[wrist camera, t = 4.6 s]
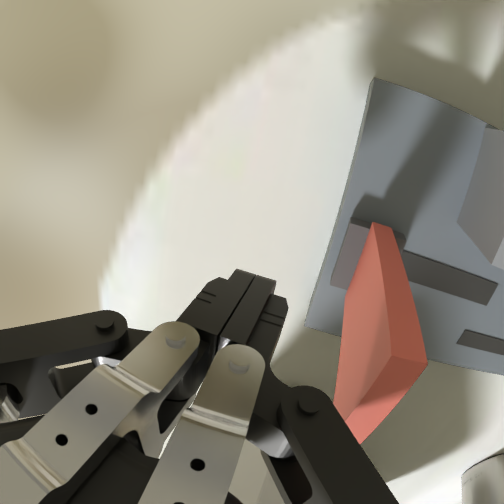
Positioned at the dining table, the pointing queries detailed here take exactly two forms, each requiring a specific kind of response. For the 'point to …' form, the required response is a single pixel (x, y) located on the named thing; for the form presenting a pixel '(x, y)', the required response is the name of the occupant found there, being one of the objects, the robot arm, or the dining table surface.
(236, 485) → the rounded white slab
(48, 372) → the robot arm
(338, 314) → the console
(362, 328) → the red lever
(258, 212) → the dining table surface
